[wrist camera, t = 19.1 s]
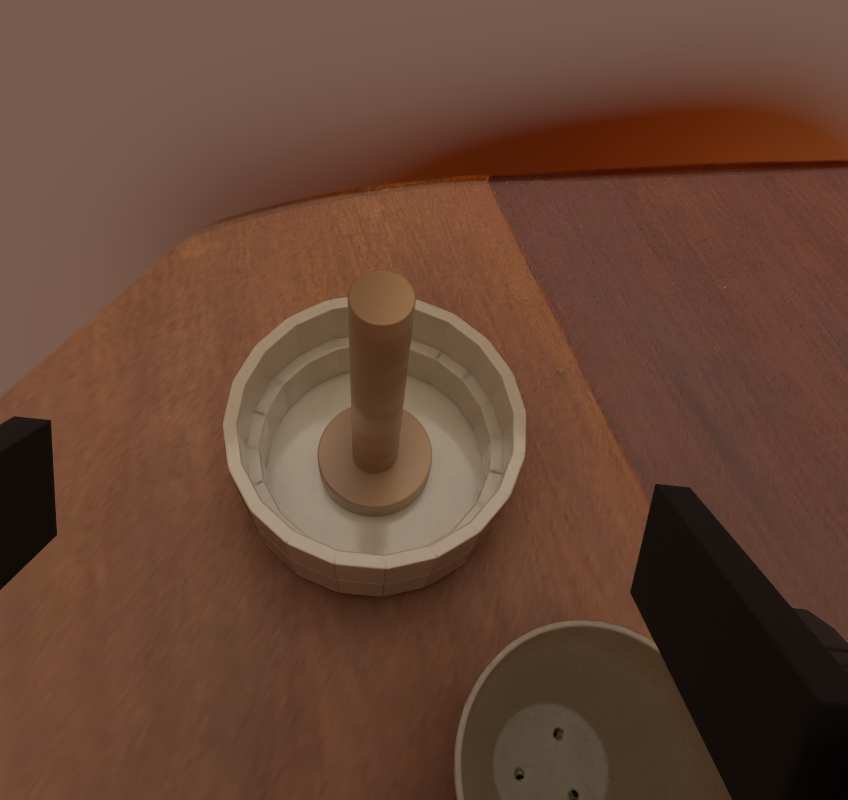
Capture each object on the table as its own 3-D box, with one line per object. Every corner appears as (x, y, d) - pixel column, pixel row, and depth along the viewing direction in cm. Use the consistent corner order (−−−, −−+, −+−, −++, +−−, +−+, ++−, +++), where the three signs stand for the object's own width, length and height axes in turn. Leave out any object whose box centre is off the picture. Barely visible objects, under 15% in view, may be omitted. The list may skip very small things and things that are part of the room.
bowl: (505, 370, 39) (527, 309, 34) (498, 610, 33) (524, 582, 28) (270, 345, 39) (255, 280, 33) (219, 584, 33) (192, 551, 27)
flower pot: (585, 970, 27) (653, 1035, 21) (387, 788, 29) (394, 797, 23) (702, 745, 31) (789, 743, 25) (520, 601, 33) (557, 565, 27)
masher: (433, 420, 37) (471, 238, 24) (425, 522, 34) (463, 381, 21) (327, 409, 37) (308, 220, 24) (311, 511, 34) (280, 361, 21)
